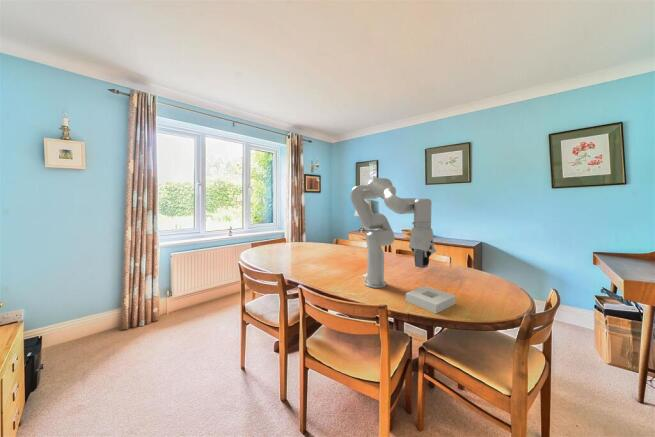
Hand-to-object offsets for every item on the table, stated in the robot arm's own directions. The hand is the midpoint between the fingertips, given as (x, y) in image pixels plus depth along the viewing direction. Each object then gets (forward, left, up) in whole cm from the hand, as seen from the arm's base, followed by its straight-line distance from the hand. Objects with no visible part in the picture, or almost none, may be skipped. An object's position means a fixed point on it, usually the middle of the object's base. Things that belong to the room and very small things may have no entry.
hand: (421, 263), depth 117 cm
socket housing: (+2, +5, -20) cm, 20 cm away
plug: (0, 0, -1) cm, 1 cm away
